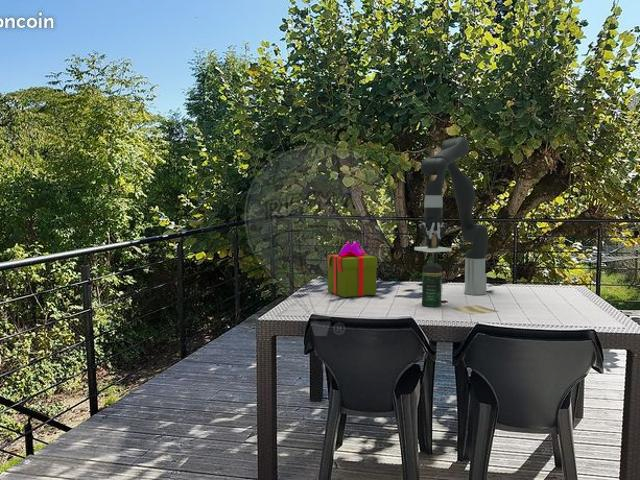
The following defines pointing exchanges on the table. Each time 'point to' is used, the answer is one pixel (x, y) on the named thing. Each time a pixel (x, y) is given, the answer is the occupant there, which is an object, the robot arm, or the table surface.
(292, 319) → the table surface
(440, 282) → the coffee jar
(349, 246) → the gift box
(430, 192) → the robot arm
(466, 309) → the mat
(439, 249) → the peg stand
